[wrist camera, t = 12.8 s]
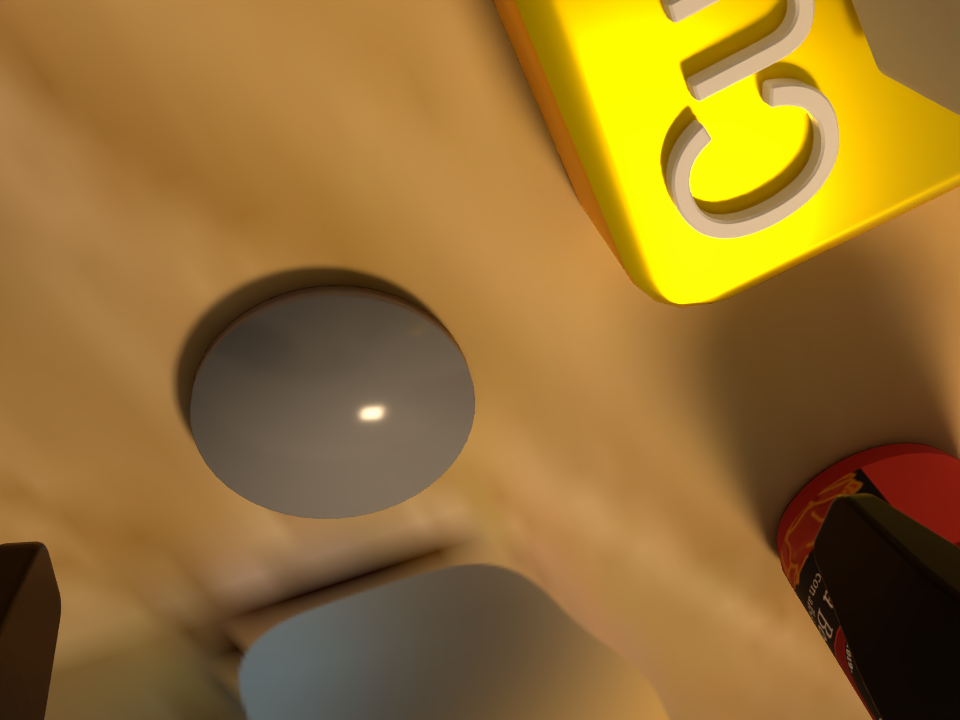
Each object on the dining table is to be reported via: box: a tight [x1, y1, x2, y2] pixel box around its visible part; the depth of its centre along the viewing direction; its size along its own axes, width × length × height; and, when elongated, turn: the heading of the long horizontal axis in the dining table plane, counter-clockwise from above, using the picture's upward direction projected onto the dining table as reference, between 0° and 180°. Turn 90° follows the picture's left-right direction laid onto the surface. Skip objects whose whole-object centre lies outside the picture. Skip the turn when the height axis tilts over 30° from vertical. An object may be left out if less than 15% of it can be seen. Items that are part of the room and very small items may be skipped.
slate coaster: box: [190, 285, 475, 519], centre depth 24 cm, size 8×8×1 cm
